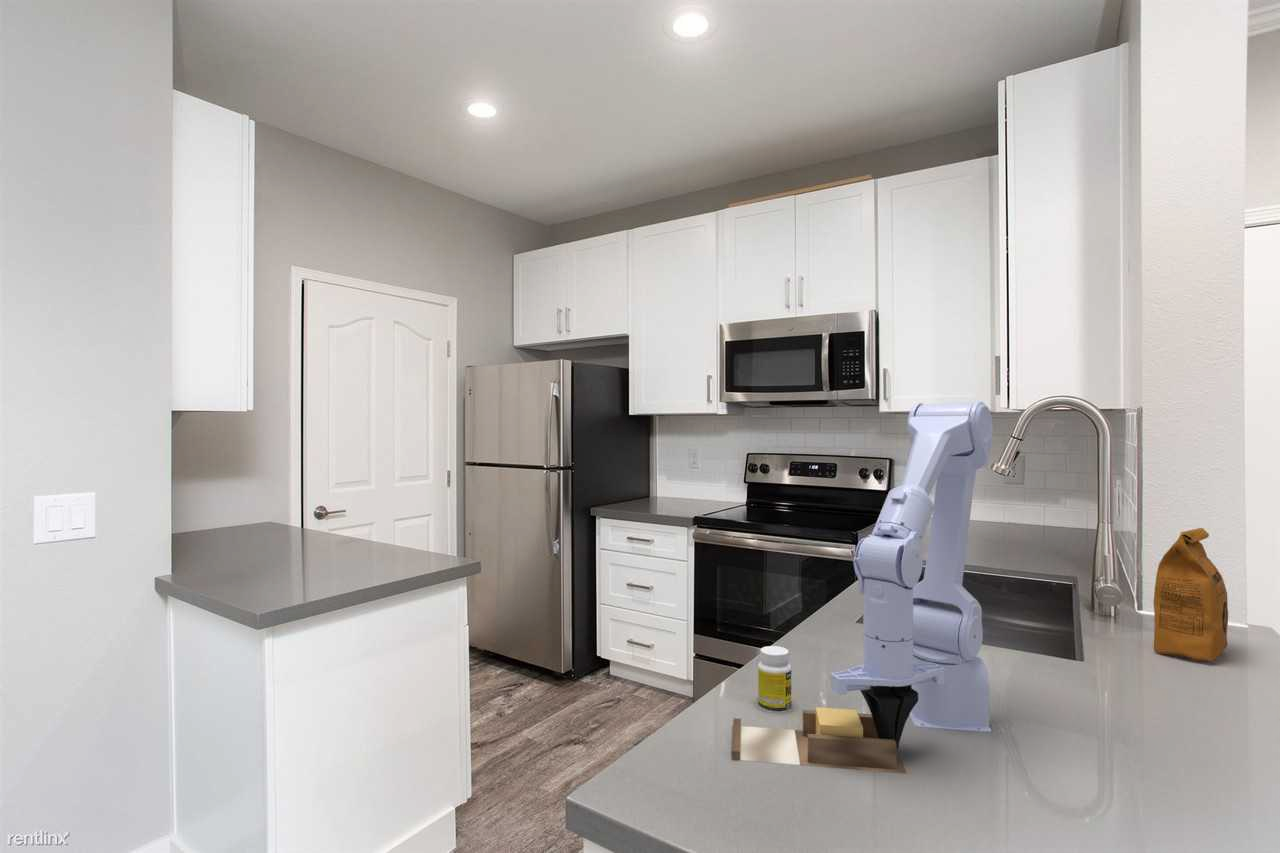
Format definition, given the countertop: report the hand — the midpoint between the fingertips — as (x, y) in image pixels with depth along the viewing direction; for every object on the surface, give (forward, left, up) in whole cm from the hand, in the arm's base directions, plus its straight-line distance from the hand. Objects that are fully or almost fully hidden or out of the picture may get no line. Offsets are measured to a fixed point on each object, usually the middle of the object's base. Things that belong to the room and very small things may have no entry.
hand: (888, 745), depth 80 cm
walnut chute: (+9, 0, -1) cm, 9 cm away
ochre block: (+6, 0, -1) cm, 6 cm away
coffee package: (-61, -47, -2) cm, 77 cm away
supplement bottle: (+13, -12, -2) cm, 18 cm away
